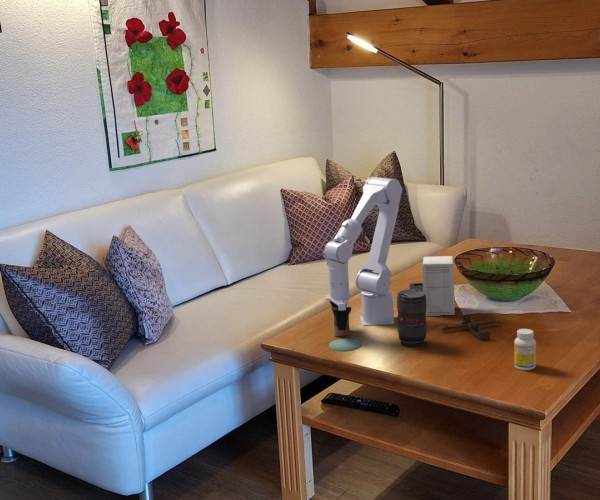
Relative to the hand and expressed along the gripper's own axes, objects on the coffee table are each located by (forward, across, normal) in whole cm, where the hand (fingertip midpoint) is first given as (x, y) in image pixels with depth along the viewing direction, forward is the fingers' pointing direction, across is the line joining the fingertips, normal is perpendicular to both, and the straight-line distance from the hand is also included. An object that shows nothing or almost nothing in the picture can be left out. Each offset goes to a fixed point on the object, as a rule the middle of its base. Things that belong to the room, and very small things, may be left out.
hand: (341, 326), depth 243 cm
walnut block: (+2, 0, 0) cm, 2 cm away
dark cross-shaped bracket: (+3, +6, +38) cm, 39 cm away
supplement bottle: (+3, +34, +44) cm, 56 cm away
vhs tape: (+3, -34, +30) cm, 46 cm away
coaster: (+2, +10, 0) cm, 10 cm away
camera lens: (+3, +12, +19) cm, 23 cm away
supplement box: (+3, -14, +32) cm, 35 cm away
